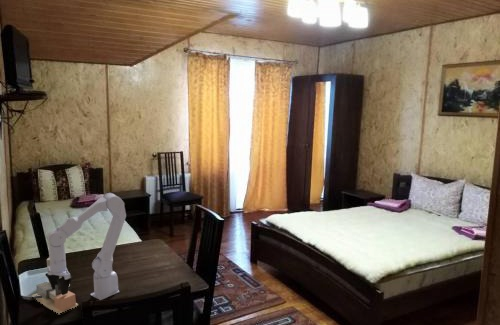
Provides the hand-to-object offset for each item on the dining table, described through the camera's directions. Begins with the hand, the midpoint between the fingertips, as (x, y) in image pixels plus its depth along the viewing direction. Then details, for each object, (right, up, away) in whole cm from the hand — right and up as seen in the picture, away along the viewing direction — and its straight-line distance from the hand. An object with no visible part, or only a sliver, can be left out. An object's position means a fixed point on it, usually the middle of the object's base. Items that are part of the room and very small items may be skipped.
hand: (59, 291), depth 154 cm
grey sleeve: (-9, -5, +8) cm, 13 cm away
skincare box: (-12, -4, +22) cm, 26 cm away
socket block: (+3, -6, -1) cm, 7 cm away
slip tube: (-2, -4, +2) cm, 5 cm away
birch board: (-4, -6, +4) cm, 8 cm away
